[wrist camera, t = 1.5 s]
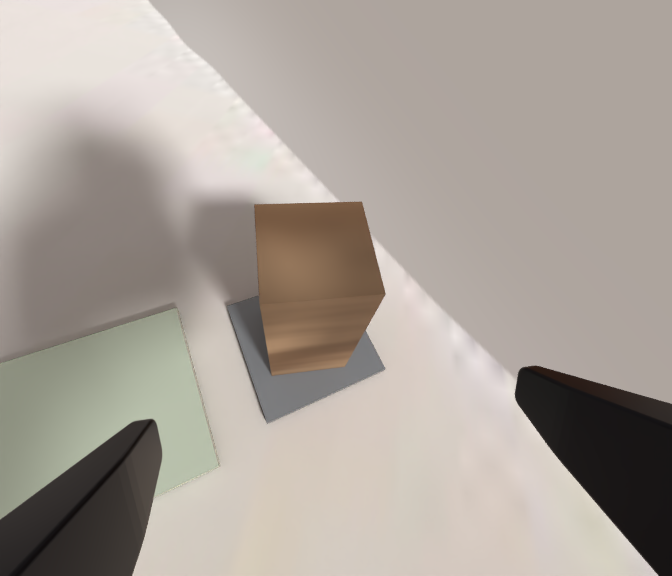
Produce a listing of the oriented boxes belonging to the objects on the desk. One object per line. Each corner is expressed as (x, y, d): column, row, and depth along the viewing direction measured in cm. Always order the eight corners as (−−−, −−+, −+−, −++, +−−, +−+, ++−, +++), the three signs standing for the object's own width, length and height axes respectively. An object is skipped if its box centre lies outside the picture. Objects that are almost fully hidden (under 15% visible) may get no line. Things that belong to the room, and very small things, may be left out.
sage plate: (220, 466, 18) (218, 466, 17) (-4, 573, 15) (-13, 576, 14) (178, 310, 22) (176, 307, 21) (-6, 369, 19) (-13, 367, 18)
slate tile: (383, 370, 22) (385, 368, 21) (267, 423, 19) (266, 422, 19) (333, 273, 25) (334, 270, 24) (227, 308, 22) (226, 305, 22)
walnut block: (344, 366, 21) (385, 293, 12) (271, 375, 20) (259, 304, 11) (333, 302, 23) (361, 201, 14) (267, 308, 22) (254, 204, 13)
